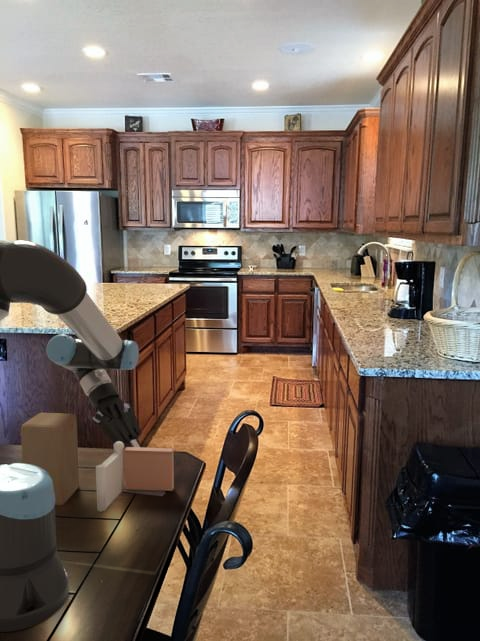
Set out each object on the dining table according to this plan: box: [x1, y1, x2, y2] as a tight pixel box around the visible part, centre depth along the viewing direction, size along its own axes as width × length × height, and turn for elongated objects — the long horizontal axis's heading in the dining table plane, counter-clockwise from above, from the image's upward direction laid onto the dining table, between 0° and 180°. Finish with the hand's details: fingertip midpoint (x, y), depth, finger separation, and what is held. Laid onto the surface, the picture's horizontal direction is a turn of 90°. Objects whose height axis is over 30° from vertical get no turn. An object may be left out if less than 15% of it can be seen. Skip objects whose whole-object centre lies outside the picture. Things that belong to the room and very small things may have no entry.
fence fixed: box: [95, 441, 125, 512], centre depth 120 cm, size 12×3×13 cm, turn 169°
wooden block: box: [20, 412, 80, 506], centre depth 121 cm, size 10×10×20 cm
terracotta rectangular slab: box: [123, 446, 175, 492], centre depth 125 cm, size 12×2×10 cm, turn 87°
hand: (143, 463), depth 128 cm, fingers closed
